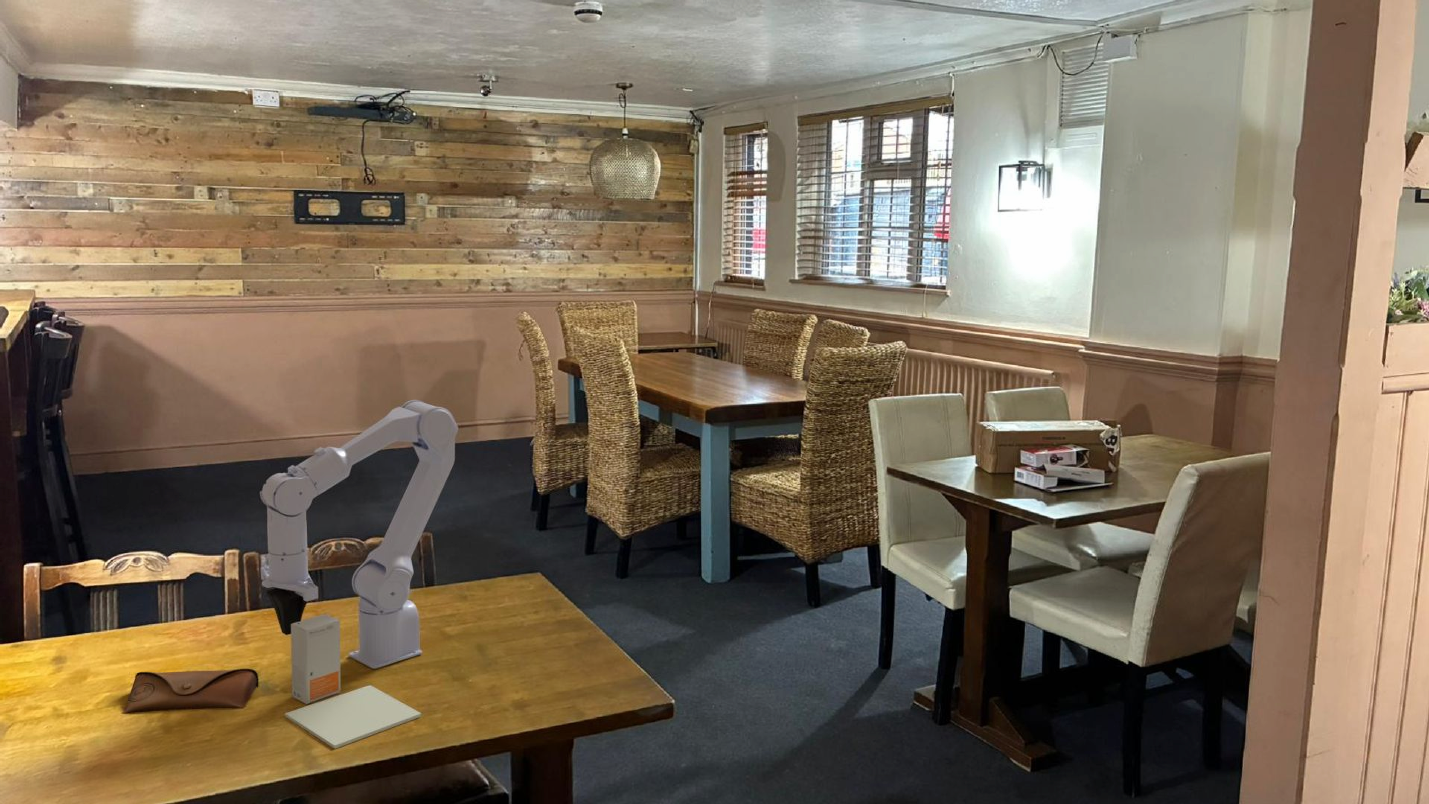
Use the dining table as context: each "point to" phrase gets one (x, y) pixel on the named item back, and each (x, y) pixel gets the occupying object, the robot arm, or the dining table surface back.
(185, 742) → the dining table surface
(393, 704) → the mat
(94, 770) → the dining table surface
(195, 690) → the sunglasses case
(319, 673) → the skincare box
